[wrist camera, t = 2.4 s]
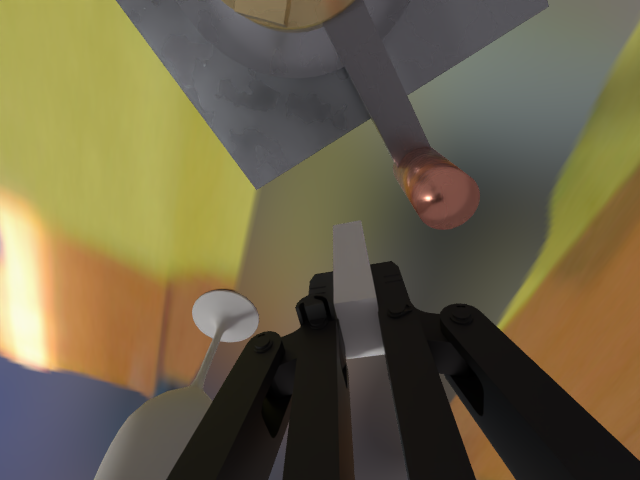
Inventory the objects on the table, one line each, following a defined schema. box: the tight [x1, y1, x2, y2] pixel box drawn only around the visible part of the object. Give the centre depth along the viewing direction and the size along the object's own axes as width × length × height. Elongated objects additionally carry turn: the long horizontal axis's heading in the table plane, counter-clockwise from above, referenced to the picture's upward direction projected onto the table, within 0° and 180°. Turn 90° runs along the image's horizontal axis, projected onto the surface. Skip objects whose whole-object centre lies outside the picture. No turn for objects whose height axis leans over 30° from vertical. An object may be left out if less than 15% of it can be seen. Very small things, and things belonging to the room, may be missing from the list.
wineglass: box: [94, 290, 259, 480], centre depth 26 cm, size 8×8×21 cm
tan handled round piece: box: [221, 0, 480, 230], centre depth 16 cm, size 23×11×7 cm, turn 32°
